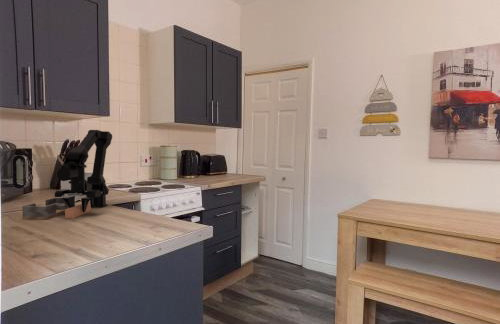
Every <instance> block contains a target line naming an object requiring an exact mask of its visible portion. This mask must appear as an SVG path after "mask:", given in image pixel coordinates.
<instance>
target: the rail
mask: <svg viewBox="0 0 500 324" xmlns="http://www.w3.org/2000/svg"><path fill="white" fill-rule="evenodd" d="M91 211H92V207H91V203H90V202H89V203H88V205H87V208H86V211H85V212H83V210H82V203H80V204H77V205H75V206H74V207H71V208H68V209H65V213H64V218H65V219H75V218H77V217H80V216H82V215H84V214H87V213H89V212H91Z"/></svg>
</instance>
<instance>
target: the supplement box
mask: <svg viewBox="0 0 500 324" xmlns="http://www.w3.org/2000/svg"><path fill="white" fill-rule="evenodd" d="M69 181H71V180H67V181H61V180H60V190H61V189H69V190H71V183H69ZM72 196H75V200H79V199H81V198H84V196H80V195H72ZM60 198H63V196H62V197H60Z"/></svg>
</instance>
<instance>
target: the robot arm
mask: <svg viewBox="0 0 500 324" xmlns="http://www.w3.org/2000/svg"><path fill="white" fill-rule="evenodd" d="M112 140H113V134H112V133H111V132H110V131H106V130H103V131H102V130H99V129H90V130H88V131H87V134H85V136H84V137H83V139H82V140H81V142H80V143H79V144H78V145H77V146H75V147H73V148H71V149H70V150H69V151H68V153H67V154H66V156H65V159H64V161H63V163H62V164H61V166H60V168H59V169H58V170H57V172H56V177H57V178H58V180H59V181H60V182H61V181H67V180H71V181H69V183H71V190H69V189H61V188H60V189H57V190H55V192H54V194H53V196H54V197H53V198H61V197H62V196H63V198H62V199H64V201H65V202H66V203H67V205H68V206H69V208H71V207H74V198H75V196H72V195H80V196H84V198H81V201H80V202H81V204H82V210H83V212H85V211H86V208H87V205H88V203H91V208H104V207H106V206H108V203H107V199H106V198H107V197H106V196H107V195H108V194H109V191H110V189H109V188H108V186H107V183H106V182H107V181H106V179H105V177H104V169H105V163H106V154H107V149H108V148H109V146H111V143H112ZM94 145H95V152H94V159H93V160H94V161H93V167H92V172H93V173H92V175H91V176H90V177H88V178H87V181H86V180H85V171H86V170H85V169H86V168H88V166H87V164H85V163H86V162H87V161H88V159H89V152H90V150H91V149H92V148H93V146H94ZM85 191H87V192H85Z"/></svg>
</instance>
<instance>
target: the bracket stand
mask: <svg viewBox="0 0 500 324" xmlns="http://www.w3.org/2000/svg"><path fill="white" fill-rule="evenodd" d="M74 206H76V202H75V198H74ZM21 207H22V220H42V221H43V220H49V219H52V218H55V217H58V216H60V215H62V214H65V209H68V208H69V206H68V205H67V203H66V202H65V201H64V199H62V198H61V197H51V198H47V199H45V205H44V206H43V205H36V203H35V202H34V203H29V204H27V205H23V206H21Z"/></svg>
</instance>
